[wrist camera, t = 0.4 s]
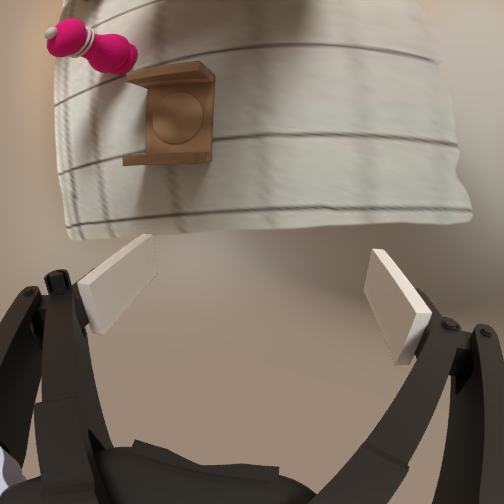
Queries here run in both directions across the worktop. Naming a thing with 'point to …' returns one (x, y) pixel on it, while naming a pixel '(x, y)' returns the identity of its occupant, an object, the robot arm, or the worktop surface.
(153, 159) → the holder
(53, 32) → the pepper mill
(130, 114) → the worktop surface
